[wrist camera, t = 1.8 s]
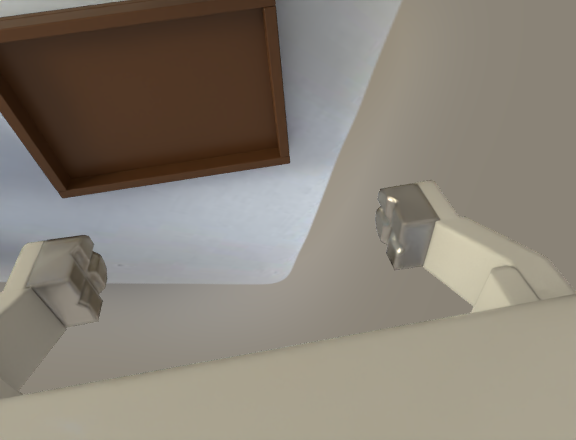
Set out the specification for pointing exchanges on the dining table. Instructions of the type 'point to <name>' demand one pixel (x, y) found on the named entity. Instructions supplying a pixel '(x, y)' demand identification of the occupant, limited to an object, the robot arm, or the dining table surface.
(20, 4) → the dining table surface
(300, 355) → the robot arm
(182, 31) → the serving tray
